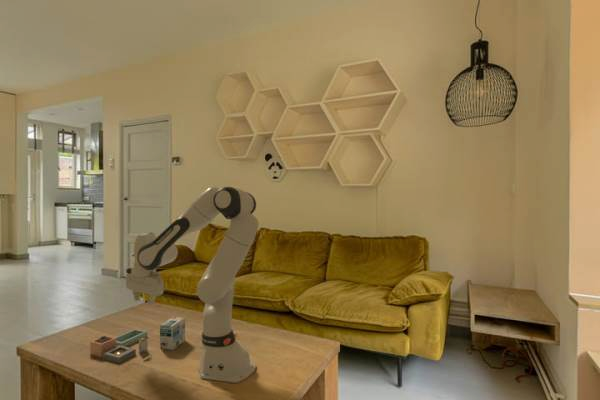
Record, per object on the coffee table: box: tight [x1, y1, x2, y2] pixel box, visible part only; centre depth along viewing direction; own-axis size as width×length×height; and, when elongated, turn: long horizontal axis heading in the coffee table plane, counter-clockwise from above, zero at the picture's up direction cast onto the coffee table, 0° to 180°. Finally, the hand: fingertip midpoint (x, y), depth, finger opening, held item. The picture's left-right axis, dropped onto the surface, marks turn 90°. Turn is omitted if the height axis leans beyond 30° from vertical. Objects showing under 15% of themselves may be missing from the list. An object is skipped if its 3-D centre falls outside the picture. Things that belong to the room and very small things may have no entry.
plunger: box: [113, 350, 125, 355], centre depth 139 cm, size 5×5×1 cm
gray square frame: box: [101, 345, 137, 364], centre depth 139 cm, size 10×8×3 cm
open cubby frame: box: [89, 335, 116, 358], centre depth 143 cm, size 7×7×6 cm
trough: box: [114, 328, 148, 347], centre depth 154 cm, size 8×14×3 cm, turn 157°
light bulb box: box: [159, 316, 186, 351], centre depth 152 cm, size 11×7×11 cm, turn 168°
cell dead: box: [99, 335, 108, 343], centre depth 143 cm, size 3×3×6 cm
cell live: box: [138, 337, 149, 355], centre depth 143 cm, size 3×3×6 cm
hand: (144, 302), depth 143 cm, fingers open, 8 cm apart
